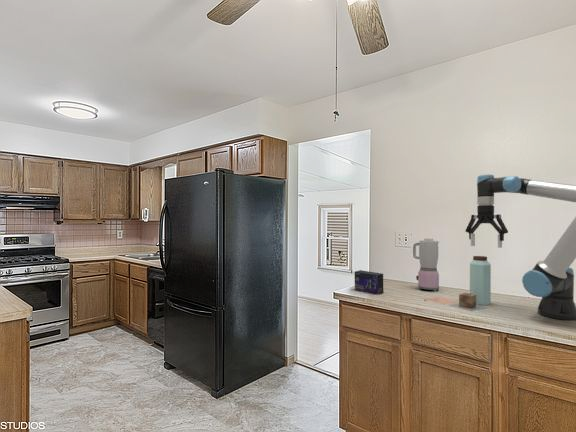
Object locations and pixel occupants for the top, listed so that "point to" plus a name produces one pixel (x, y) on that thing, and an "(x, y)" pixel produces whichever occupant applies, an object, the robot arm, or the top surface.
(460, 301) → the walnut block
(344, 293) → the top surface
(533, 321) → the top surface
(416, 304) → the top surface
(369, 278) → the black digital alarm clock
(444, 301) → the terracotta tile
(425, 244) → the blender
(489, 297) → the water bottle
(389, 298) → the top surface
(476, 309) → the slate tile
